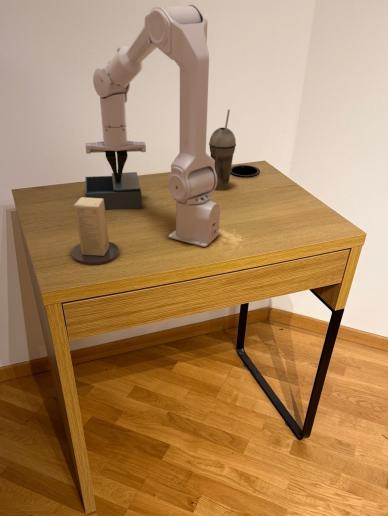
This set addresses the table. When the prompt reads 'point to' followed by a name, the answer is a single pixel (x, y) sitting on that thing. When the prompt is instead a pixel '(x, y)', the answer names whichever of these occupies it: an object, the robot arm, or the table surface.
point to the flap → (126, 182)
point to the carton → (112, 193)
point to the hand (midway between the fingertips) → (118, 180)
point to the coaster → (95, 259)
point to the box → (92, 226)
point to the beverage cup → (222, 153)
